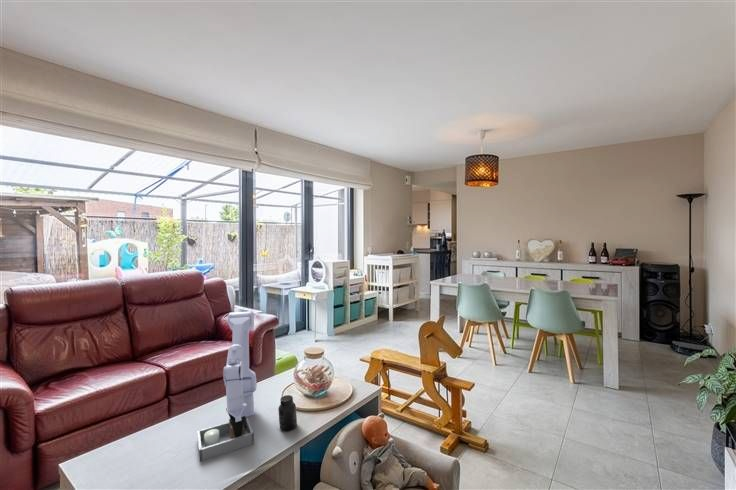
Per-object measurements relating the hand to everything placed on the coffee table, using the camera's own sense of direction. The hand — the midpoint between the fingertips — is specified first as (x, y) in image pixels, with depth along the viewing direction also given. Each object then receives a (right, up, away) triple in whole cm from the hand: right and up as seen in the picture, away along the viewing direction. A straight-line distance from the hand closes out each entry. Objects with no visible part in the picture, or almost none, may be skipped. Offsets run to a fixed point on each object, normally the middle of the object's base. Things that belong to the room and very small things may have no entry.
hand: (236, 430), depth 128 cm
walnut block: (0, -3, 0) cm, 3 cm away
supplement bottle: (+18, -3, +8) cm, 19 cm away
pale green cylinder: (-7, -4, -4) cm, 9 cm away
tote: (-3, -4, -2) cm, 5 cm away
